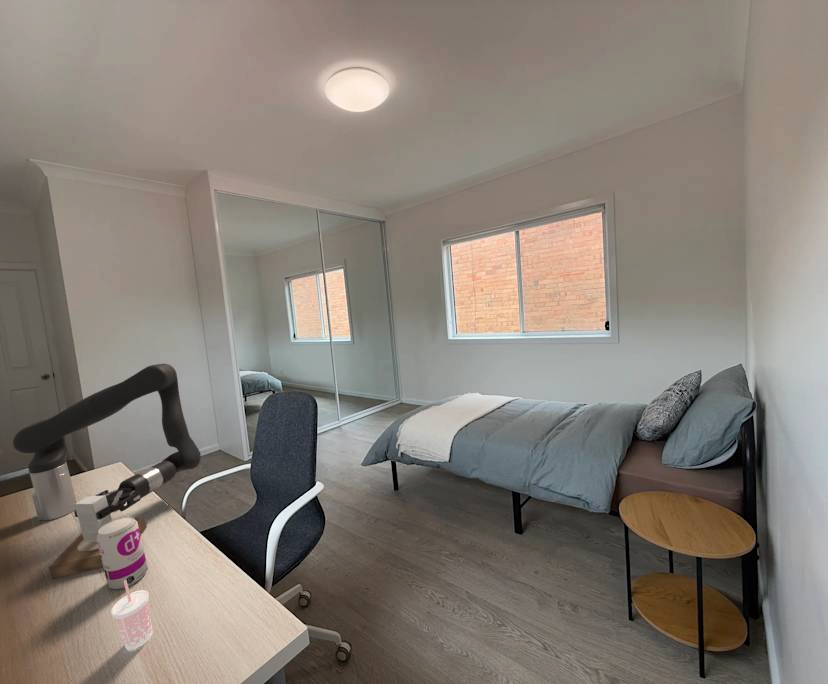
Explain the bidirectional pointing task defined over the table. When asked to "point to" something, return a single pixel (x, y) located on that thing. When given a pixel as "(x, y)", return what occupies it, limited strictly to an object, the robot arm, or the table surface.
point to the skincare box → (91, 516)
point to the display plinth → (82, 556)
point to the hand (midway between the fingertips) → (86, 515)
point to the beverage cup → (133, 618)
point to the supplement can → (121, 552)
